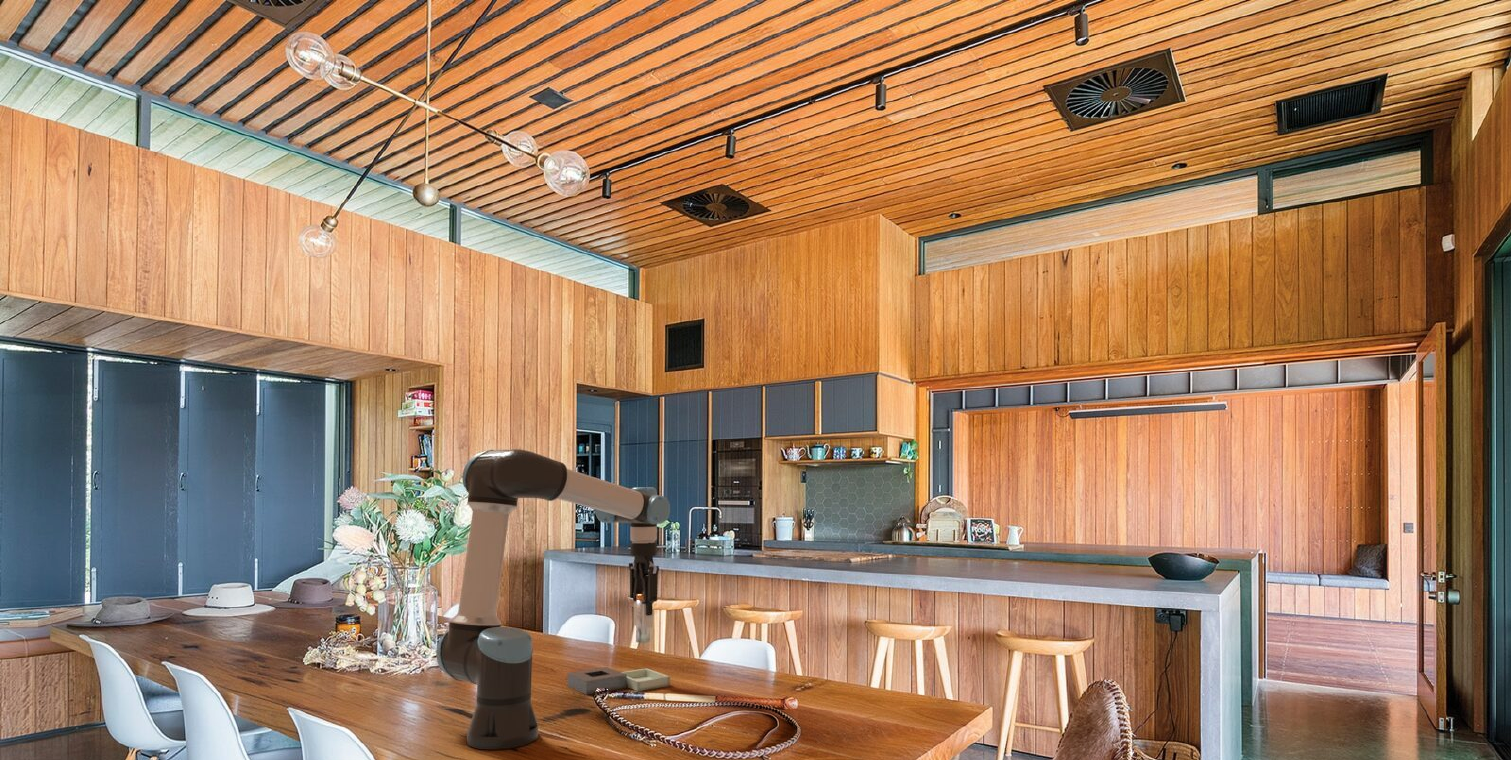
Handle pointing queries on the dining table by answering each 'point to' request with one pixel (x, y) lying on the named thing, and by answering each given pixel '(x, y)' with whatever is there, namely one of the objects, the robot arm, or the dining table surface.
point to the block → (596, 680)
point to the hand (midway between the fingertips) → (643, 625)
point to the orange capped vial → (642, 633)
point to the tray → (646, 679)
